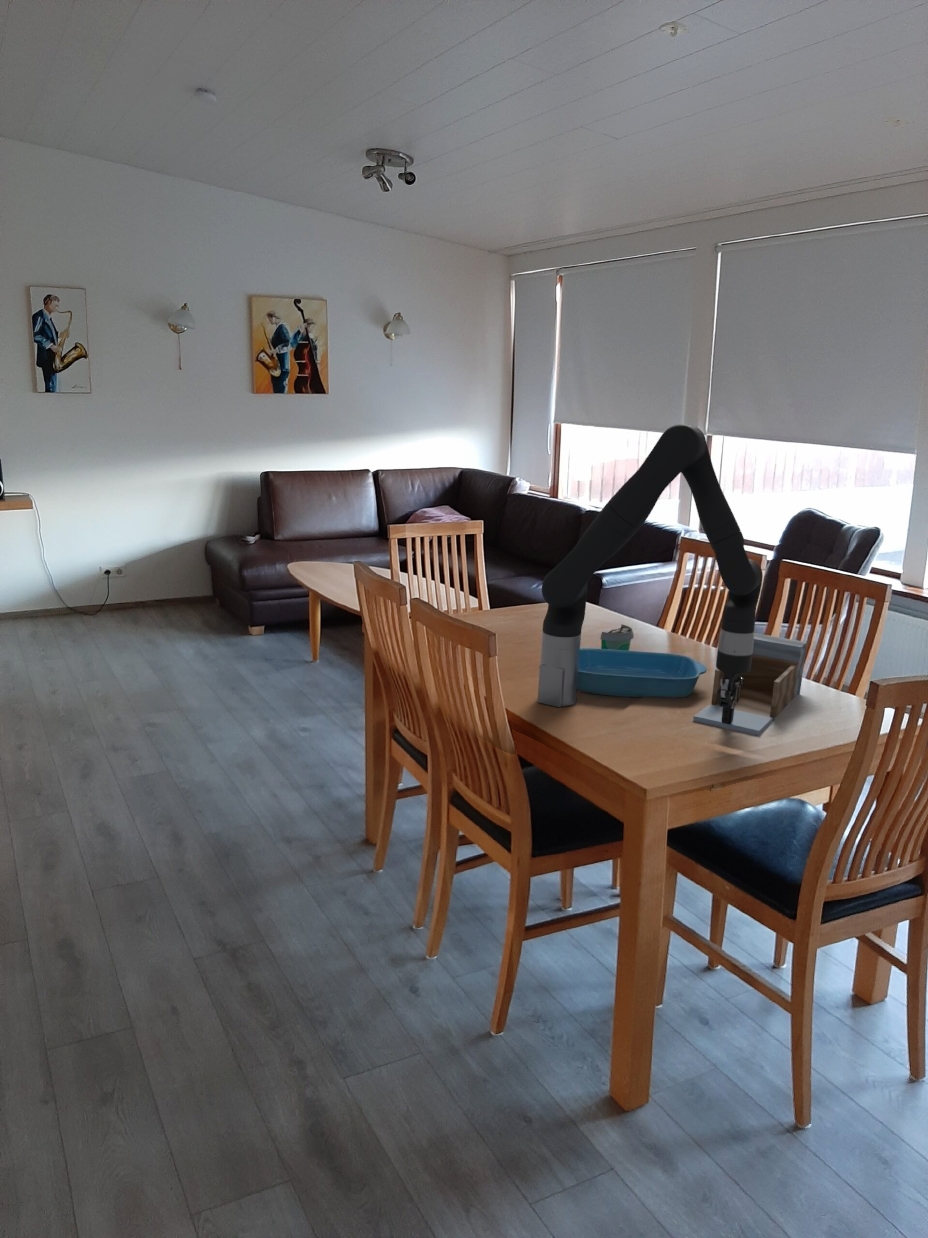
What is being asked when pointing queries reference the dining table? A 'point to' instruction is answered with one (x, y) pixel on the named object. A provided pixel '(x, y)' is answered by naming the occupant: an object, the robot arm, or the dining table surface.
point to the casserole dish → (637, 673)
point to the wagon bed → (769, 676)
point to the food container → (617, 638)
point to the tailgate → (734, 720)
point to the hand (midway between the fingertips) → (726, 722)
